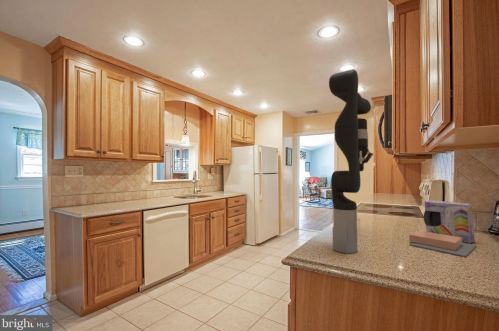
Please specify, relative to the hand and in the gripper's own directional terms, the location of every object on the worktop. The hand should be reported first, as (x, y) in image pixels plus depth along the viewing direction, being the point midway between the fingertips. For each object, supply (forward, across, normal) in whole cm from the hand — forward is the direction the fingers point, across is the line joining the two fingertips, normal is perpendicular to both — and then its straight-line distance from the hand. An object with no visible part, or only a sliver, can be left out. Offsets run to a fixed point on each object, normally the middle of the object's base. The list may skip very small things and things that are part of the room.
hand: (360, 171), depth 124 cm
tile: (+31, +22, +7) cm, 38 cm away
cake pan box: (+33, +30, +25) cm, 51 cm away
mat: (+33, +32, +7) cm, 46 cm away
